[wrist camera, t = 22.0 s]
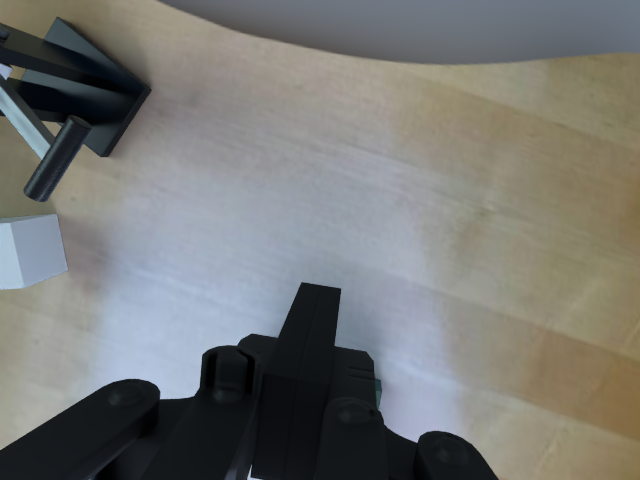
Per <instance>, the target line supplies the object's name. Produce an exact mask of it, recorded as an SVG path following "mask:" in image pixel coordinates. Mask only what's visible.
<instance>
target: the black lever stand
mask: <svg viewBox="0 0 640 480" xmlns="http://www.w3.org/2000/svg"><path fill="white" fill-rule="evenodd" d="M0 62H3V63H7V64H10V65H14V66H18V67H22V68H25V69H27V70H26V71H25V73H24V75H23V77H22V78H21V80H18V79H14V78H9V77H8V78H7V80H6V81H7V82H8V83H9V84H10V85H11V86H12V88H13V89H14V90H15V91H16V92H17V93H18V95H19V96H20V97H21V98H22V99H23V100H24V102H25V103H26V104H27V105H28V106H29V107H30V109H31V110H32V111H33V112H34V113H35V114H36V116H37V117H38V118H39V119H40V120H41V121H49V122H57V123H58V124H59V125H60V126H63V125H64V123H65V121H66V120H67V118H68V116H70V115H74V116H77V117H79V118H81V119H83V120H85V121H86V122H87V123H89V124H90V125H91V127H92V130H91V132H90V134H89V135H88V137H87V138H86V140H85V141H84V143H83V144H85V145H86V146H87V147H89V148H90V149H91V150H92V151H94V152H95V153H96V154H97V155H99V156H100V157H108V156H109V155H110V153H111V151H112V150H113V148H114V147H115V145H116V144H117V142H118V141H119V139H120V138H121V136H122V135H123V133H124V132H125V130H126V129H127V127H128V125H129V124H130V122H131V121H132V119H133V118H134V116H135V115H136V113H137V112H138V110H139V109H140V107H141V106H142V104H143V103H144V101H145V100H146V98H147V96H148V95H149V93H150V92H151V89H150V88H149V87H148V86H147V85H145V84H144V83H143V82H142V81H140V80H139V79H138V78H137V77H135V76H134V75H133V74H132V73H130V72H129V71H128V70H127V69H125V68H124V67H123V66H122V65H120V64H119V63H118V62H117V61H115V60H114V59H113V58H112V57H110V56H109V55H108V54H107V53H105V52H104V51H103V50H102V49H100V48H99V47H98V46H97V45H95V44H94V43H93V42H92V41H90V40H89V39H88V38H87V37H85V36H84V35H83V34H82V33H81V32H79V31H78V30H77V29H76V28H74V27H73V26H72V25H71V24H69V23H68V22H67V21H65V20H63V19H61V18H59V17H57V18H56V19H55V21H54V23H53V25H52V26H51V28H50V30H49V32H48V33H47V35H46V37H45V38H44V39H41V38H39V37H36V36H34V35H31V34H28V33H26V32H23V31H20V30H18V29H15V28H12V27H10V26H7V25H5V24H2V23H0ZM0 116H5V114H4V113H3V112H2V111H1V110H0Z"/></svg>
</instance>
